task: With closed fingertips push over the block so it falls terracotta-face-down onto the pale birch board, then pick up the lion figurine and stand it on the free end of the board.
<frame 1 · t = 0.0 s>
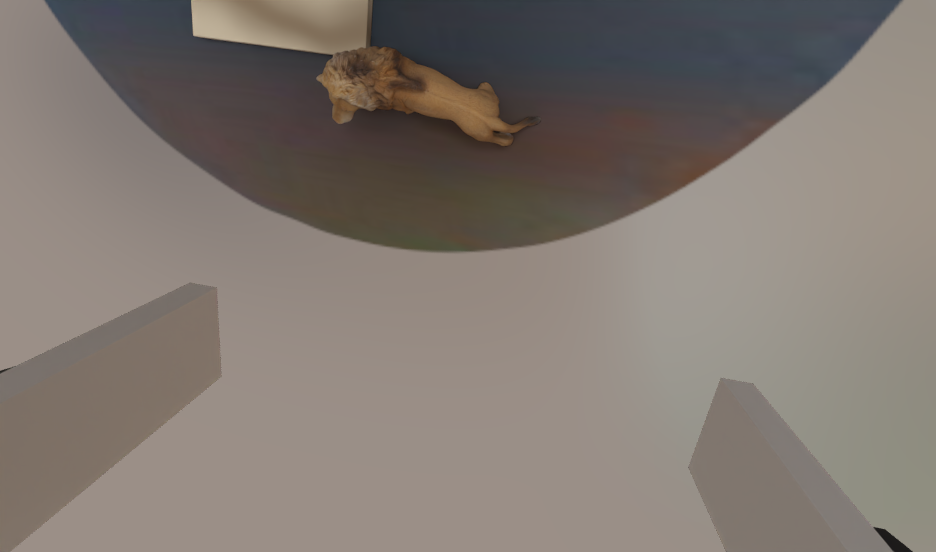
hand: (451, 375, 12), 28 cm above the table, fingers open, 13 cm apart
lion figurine: (442, 105, 37), on the table
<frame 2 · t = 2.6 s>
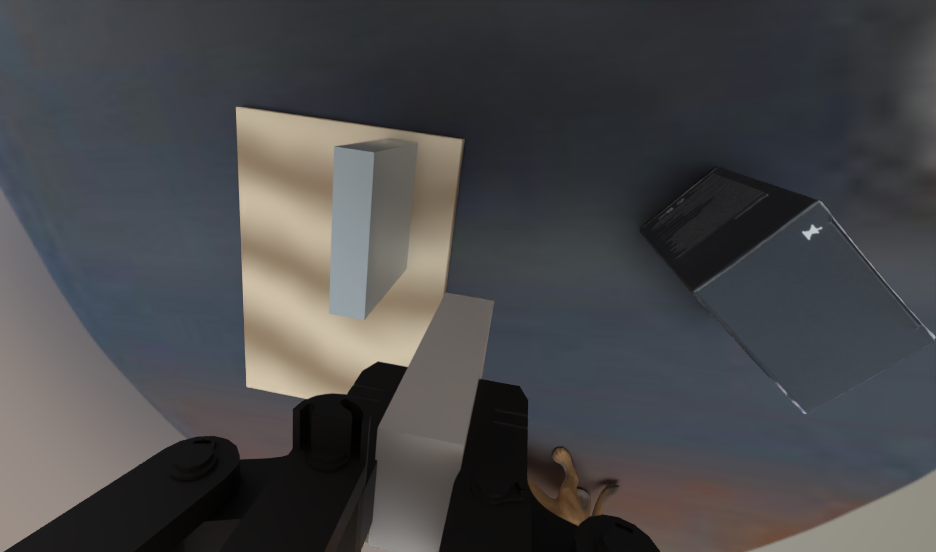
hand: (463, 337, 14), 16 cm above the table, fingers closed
board: (346, 274, 32), on the table
box: (715, 244, 28), on the table
block: (397, 206, 29), point 1 cm above the table, touching board
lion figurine: (514, 458, 35), on the table
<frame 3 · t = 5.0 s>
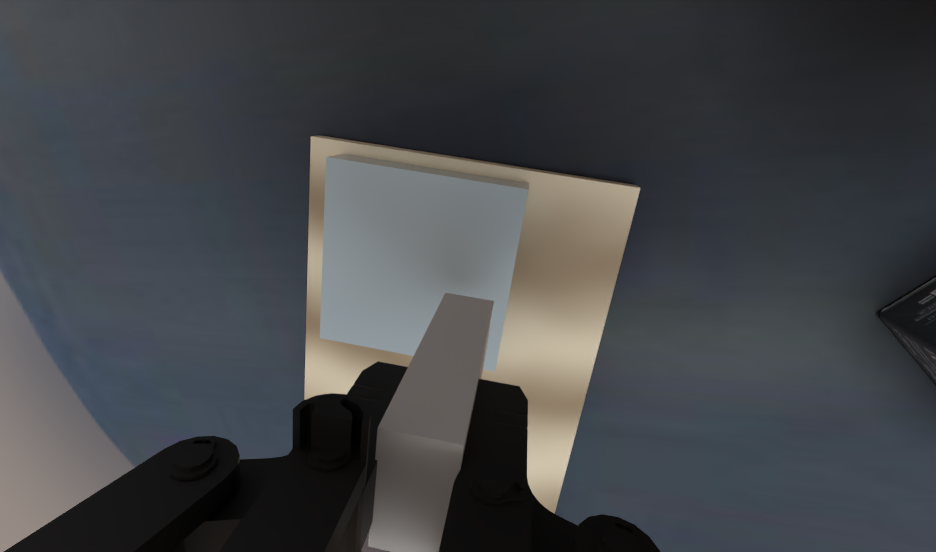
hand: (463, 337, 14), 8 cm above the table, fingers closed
board: (445, 358, 24), on the table
block: (511, 279, 20), point 2 cm above the table, tilted 90°, touching board
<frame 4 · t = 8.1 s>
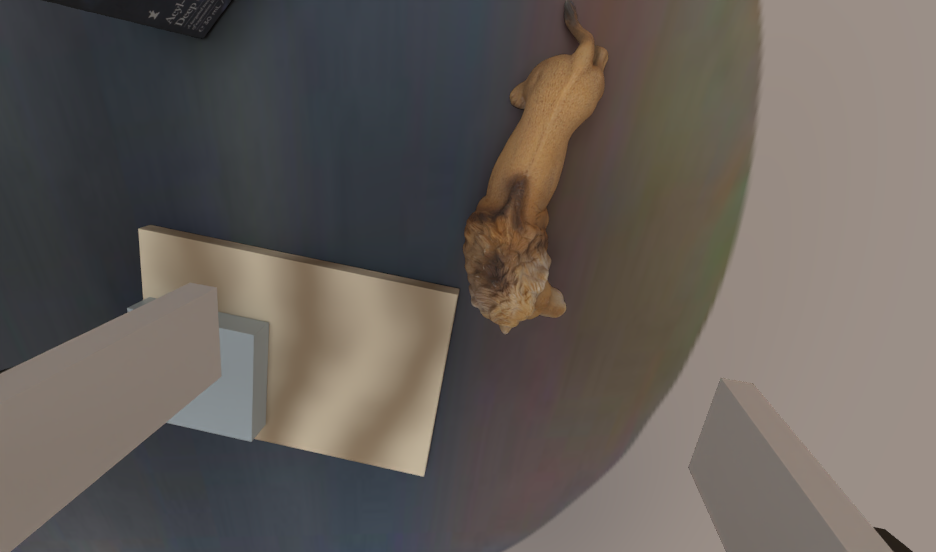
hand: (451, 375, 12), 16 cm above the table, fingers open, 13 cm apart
board: (297, 353, 31), on the table
block: (199, 315, 29), point 2 cm above the table, tilted 90°, touching board
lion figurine: (537, 162, 26), on the table
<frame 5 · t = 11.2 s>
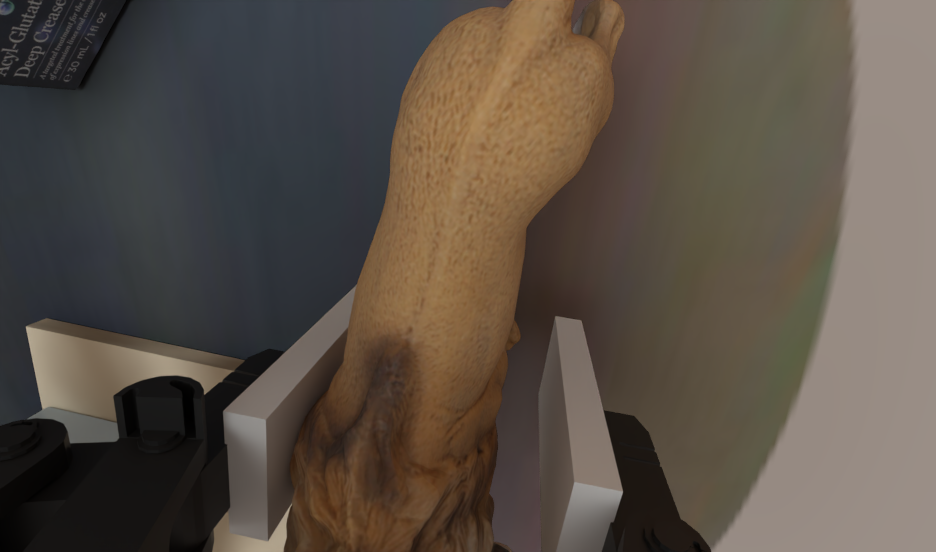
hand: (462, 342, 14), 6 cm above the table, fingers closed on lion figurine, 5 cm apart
board: (233, 471, 25), on the table
block: (101, 434, 23), point 2 cm above the table, tilted 90°, touching board
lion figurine: (496, 243, 13), point 5 cm above the table, touching gripper
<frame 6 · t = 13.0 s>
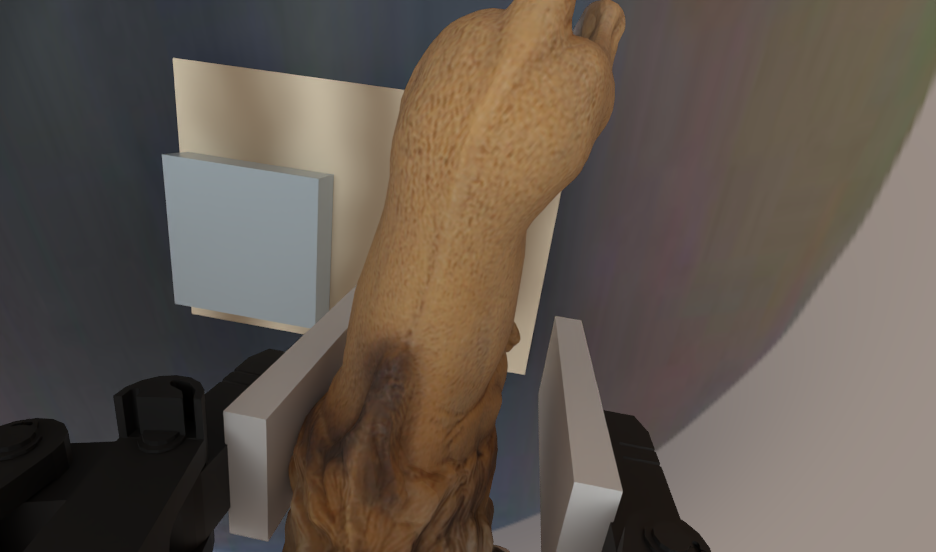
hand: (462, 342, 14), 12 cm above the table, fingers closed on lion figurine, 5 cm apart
board: (366, 222, 26), on the table
block: (249, 164, 23), point 2 cm above the table, tilted 90°, touching board
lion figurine: (496, 245, 13), point 11 cm above the table, touching gripper
when the fingers open (2 cm above the table, at t = 14.9 s): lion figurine stays where it is, resting on board.
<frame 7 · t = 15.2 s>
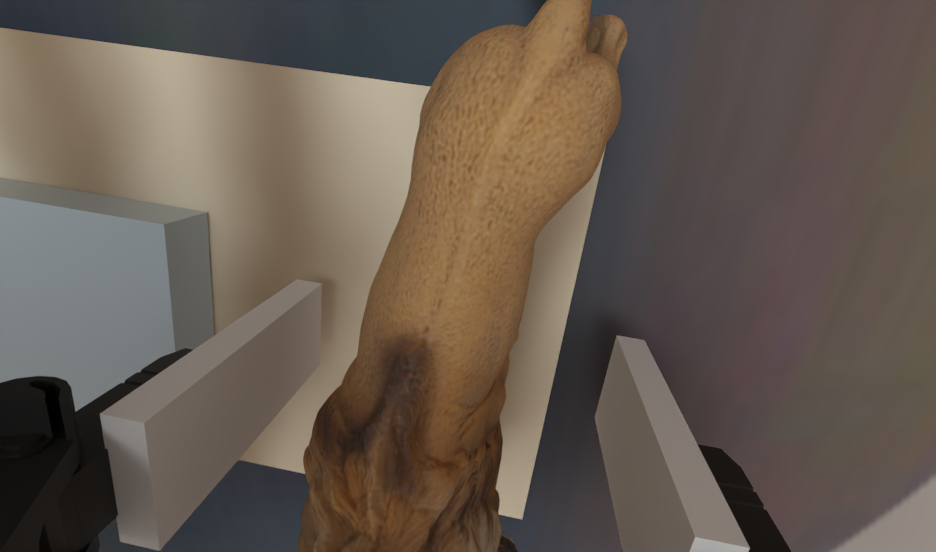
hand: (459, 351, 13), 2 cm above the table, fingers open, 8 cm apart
board: (272, 283, 16), on the table
block: (62, 197, 14), point 2 cm above the table, tilted 90°, touching board
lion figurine: (496, 245, 14), point 1 cm above the table, touching board
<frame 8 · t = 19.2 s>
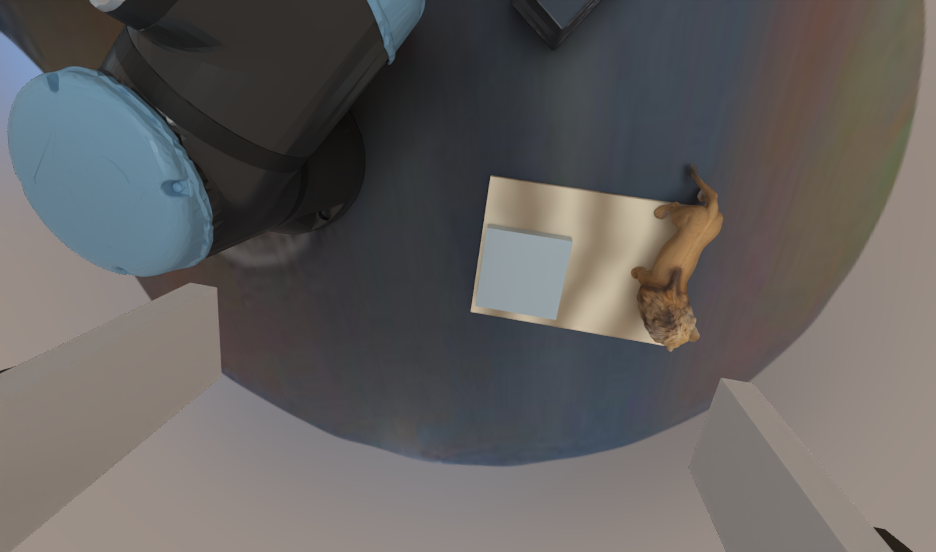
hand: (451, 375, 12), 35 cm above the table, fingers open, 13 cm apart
board: (580, 261, 46), on the table
block: (529, 232, 44), point 2 cm above the table, tilted 90°, touching board
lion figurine: (667, 247, 44), point 1 cm above the table, touching board
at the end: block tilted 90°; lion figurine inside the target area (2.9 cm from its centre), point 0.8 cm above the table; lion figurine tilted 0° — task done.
